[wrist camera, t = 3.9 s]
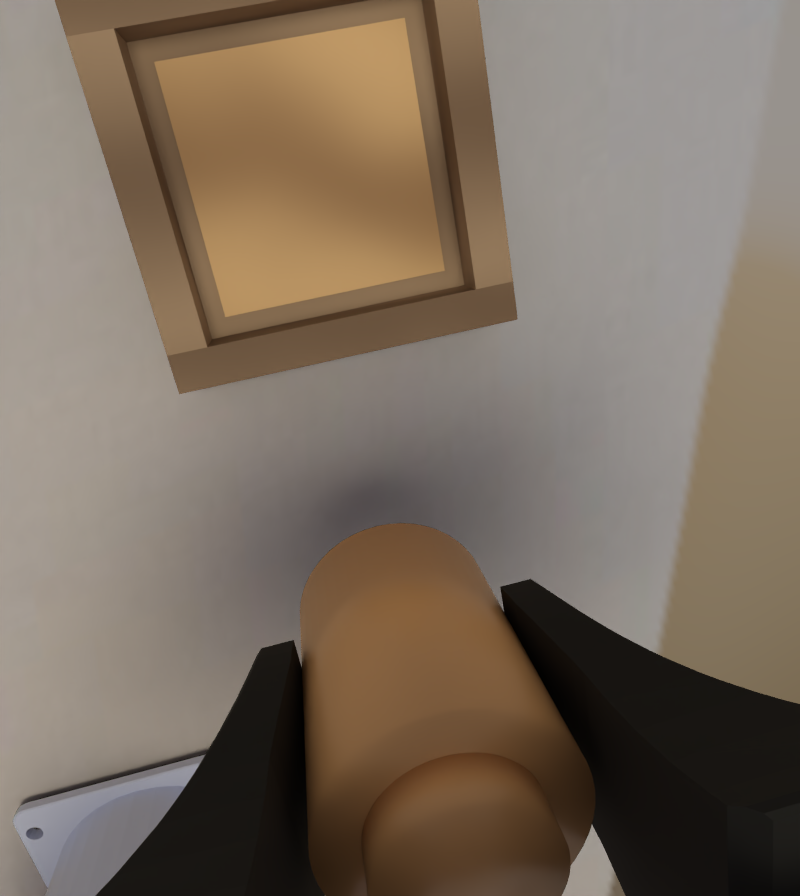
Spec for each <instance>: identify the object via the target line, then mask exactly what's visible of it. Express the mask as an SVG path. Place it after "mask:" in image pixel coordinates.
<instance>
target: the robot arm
mask: <svg viewBox="0 0 800 896" xmlns="http://www.w3.org/2000/svg"><path fill="white" fill-rule="evenodd" d="M500 588H501V594H502V600H503V607H504V613H505V615H506V617H507V619H508V621H509V622H510V624H511V626H512V628H513V630H514V631H515V633H516V635H517V637H518V639H519V640H520V642H521V644H522V646H523V648H524V649H525V651H526V653H527V655H528V657H529V658H530V660H531V662H532V664H533V666H534V668H535V669H536V671H537V673H538V675H539V677H540V678H541V680H542V682H543V684H544V686H545V687H546V689H547V691H548V693H549V695H550V696H551V698H552V700H553V702H554V704H555V705H556V707H557V709H558V711H559V713H560V714H561V716H562V718H563V720H564V722H565V723H566V725H567V727H568V729H569V731H570V732H571V734H572V736H573V738H574V740H575V741H576V743H577V745H578V747H579V749H580V750H581V752H582V754H583V756H584V758H585V759H586V761H587V763H588V766H589V768H590V771H591V773H592V776H593V781H594V787H595V810H594V818H593V821H592V825H593V827H594V829H595V831H596V833H597V835H598V837H599V839H600V840H601V842H602V844H603V846H604V849H605V851H606V853H607V855H608V858H609V860H610V862H611V864H612V867H613V869H614V871H615V873H616V875H617V878H618V880H619V882H620V884H621V886H622V889H623V891H624V893H625V895H626V896H800V704H797V703H793V702H789V701H785V700H781V699H778V698H775V697H771V696H768V695H764V694H760V693H757V692H754V691H751V690H748V689H745V688H742V687H739V686H736V685H733V684H730V683H727V682H724V681H721V680H718V679H716V678H713V677H710V676H708V675H705V674H702V673H699V672H697V671H695V670H693V669H690V668H688V667H685V666H683V665H681V664H678V663H676V662H674V661H671V660H669V659H667V658H664V657H662V656H660V655H658V654H656V653H654V652H652V651H650V650H648V649H646V648H644V647H642V646H640V645H638V644H636V643H634V642H632V641H630V640H628V639H626V638H624V637H622V636H621V635H619V634H617V633H615V632H613V631H612V630H610V629H608V628H606V627H605V626H603V625H601V624H600V623H598V622H596V621H595V620H593V619H591V618H590V617H588V616H587V615H585V614H583V613H582V612H580V611H579V610H577V609H575V608H574V607H572V606H571V605H569V604H568V603H566V602H565V601H563V600H562V599H560V598H559V597H557V596H556V595H554V594H553V593H551V592H550V591H548V590H547V589H545V588H544V587H542V586H540V585H539V584H537V583H536V582H534V581H533V580H531V579H529V580H525V581H521V582H518V583H514V584H510V585H506V586H502V587H500ZM13 824H14V827H15V829H16V830H17V832H18V834H19V836H20V838H21V840H22V842H23V844H24V845H25V847H26V849H27V851H28V853H29V855H30V857H31V859H32V860H33V862H34V864H35V866H36V868H37V870H38V872H39V873H40V875H41V877H42V879H43V881H44V883H45V885H46V887H47V888H48V890H47V892H46V895H45V896H325V894H324V893H323V891H322V890H321V888H320V887H319V885H318V883H317V881H316V879H315V876H314V874H313V872H312V868H311V864H310V859H309V847H308V821H307V794H306V766H305V739H304V711H303V684H302V667H301V664H300V660H299V657H298V654H297V650H296V647H295V643H294V640H292V641H288V642H284V643H280V644H277V645H273V646H269V647H265V648H262V649H261V650H260V651H259V653H258V654H257V656H256V659H255V661H254V663H253V665H252V667H251V670H250V672H249V674H248V676H247V678H246V680H245V682H244V685H243V687H242V689H241V691H240V693H239V695H238V697H237V699H236V701H235V703H234V705H233V707H232V708H231V710H230V712H229V714H228V716H227V718H226V720H225V722H224V723H223V725H222V727H221V729H220V731H219V733H218V734H217V736H216V738H215V740H214V741H213V743H212V745H211V746H210V748H209V750H208V751H207V753H206V754H205V755H202V756H198V757H194V758H191V759H187V760H183V761H180V762H176V763H172V764H169V765H165V766H161V767H157V768H154V769H150V770H146V771H143V772H139V773H135V774H131V775H128V776H124V777H120V778H117V779H113V780H109V781H105V782H102V783H98V784H94V785H91V786H87V787H83V788H79V789H76V790H72V791H68V792H65V793H61V794H57V795H54V796H50V797H46V798H42V799H39V800H35V801H31V802H28V803H25V804H23V805H21V806H20V807H19V808H18V809H17V812H16V814H15V816H14V819H13ZM34 827H37V828H40V829H34Z"/></svg>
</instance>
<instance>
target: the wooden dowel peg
mask: <svg viewBox="0 0 800 896" xmlns="http://www.w3.org/2000/svg"><path fill="white" fill-rule="evenodd" d="M300 628H301V656H302V684H303V711H304V739H305V766H306V794H307V821H308V847H309V859H310V864H311V868H312V872H313V874H314V876H315V879H316V881H317V883H318V885H319V887H320V888H321V890H322V891H323V893H324V894H325V896H561V895H562V894H563V891H564V889H565V887H566V885H567V881H568V878H569V874H570V866H571V864H572V863H573V861H574V860H575V859H576V857H577V855H578V854H579V852H580V850H581V849H582V847H583V845H584V843H585V841H586V839H587V836H588V834H589V832H590V828H591V825H592V821H593V818H594V810H595V787H594V781H593V776H592V773H591V771H590V768H589V766H588V763H587V761H586V759H585V758H584V756H583V754H582V752H581V750H580V749H579V747H578V745H577V743H576V741H575V740H574V738H573V736H572V734H571V732H570V731H569V729H568V727H567V725H566V723H565V722H564V720H563V718H562V716H561V714H560V713H559V711H558V709H557V707H556V705H555V704H554V702H553V700H552V698H551V696H550V695H549V693H548V691H547V689H546V687H545V686H544V684H543V682H542V680H541V678H540V677H539V675H538V673H537V671H536V669H535V668H534V666H533V664H532V662H531V660H530V658H529V657H528V655H527V653H526V651H525V649H524V648H523V646H522V644H521V642H520V640H519V639H518V637H517V635H516V633H515V631H514V630H513V628H512V626H511V624H510V622H509V621H508V619H507V617H506V615H505V613H504V612H503V610H502V608H501V606H500V604H499V603H498V601H497V599H496V597H495V595H494V594H493V592H492V590H491V588H490V586H489V585H488V583H487V581H486V579H485V577H484V576H483V574H482V572H481V570H480V568H479V567H478V565H477V563H476V562H475V560H474V558H473V557H472V555H471V554H470V553H469V552H468V551H467V549H466V548H465V547H463V546H462V545H461V544H460V543H459V542H458V541H456V540H455V539H453V538H452V537H450V536H449V535H447V534H445V533H443V532H441V531H439V530H436V529H433V528H430V527H427V526H422V525H417V524H406V523H397V524H386V525H381V526H376V527H372V528H369V529H366V530H363V531H361V532H359V533H356V534H354V535H352V536H350V537H348V538H347V539H345V540H343V541H342V542H340V543H339V544H338V545H336V546H335V547H334V548H332V549H331V550H330V551H329V552H328V553H327V554H326V555H325V556H324V557H323V558H322V559H321V560H320V562H319V563H318V564H317V565H316V567H315V568H314V570H313V571H312V573H311V575H310V576H309V578H308V580H307V583H306V585H305V588H304V591H303V594H302V598H301V605H300Z"/></svg>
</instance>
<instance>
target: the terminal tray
mask: <svg viewBox="0 0 800 896" xmlns="http://www.w3.org/2000/svg"><path fill="white" fill-rule="evenodd" d="M55 3H56V6H57V9H58V12H59V15H60V18H61V22H62V25H63V28H64V31H65V34H66V37H67V40H68V44H69V47H70V50H71V53H72V56H73V59H74V63H75V66H76V69H77V72H78V75H79V78H80V82H81V85H82V88H83V91H84V94H85V97H86V101H87V104H88V107H89V110H90V113H91V116H92V120H93V123H94V126H95V129H96V132H97V135H98V138H99V142H100V145H101V148H102V151H103V154H104V157H105V161H106V164H107V167H108V170H109V173H110V176H111V180H112V183H113V186H114V189H115V192H116V195H117V199H118V202H119V205H120V208H121V211H122V214H123V218H124V221H125V224H126V227H127V230H128V233H129V236H130V240H131V243H132V246H133V249H134V252H135V255H136V259H137V262H138V265H139V268H140V271H141V274H142V278H143V281H144V284H145V287H146V290H147V293H148V297H149V300H150V303H151V306H152V309H153V312H154V316H155V319H156V322H157V325H158V328H159V331H160V334H161V338H162V341H163V344H164V347H165V350H166V353H167V357H168V360H169V363H170V366H171V369H172V372H173V376H174V379H175V382H176V385H177V388H178V391H179V394H182V393H186V392H191V391H195V390H200V389H204V388H209V387H213V386H218V385H222V384H227V383H231V382H236V381H240V380H245V379H249V378H254V377H258V376H263V375H268V374H272V373H277V372H281V371H286V370H290V369H295V368H299V367H304V366H308V365H313V364H317V363H322V362H326V361H331V360H335V359H340V358H344V357H349V356H354V355H358V354H363V353H367V352H372V351H376V350H381V349H385V348H390V347H394V346H399V345H403V344H408V343H412V342H417V341H421V340H426V339H430V338H435V337H440V336H444V335H449V334H453V333H458V332H462V331H467V330H471V329H476V328H480V327H485V326H489V325H494V324H498V323H503V322H507V321H512V320H516V319H517V311H516V303H515V295H514V286H513V278H512V270H511V262H510V254H509V246H508V238H507V230H506V222H505V214H504V206H503V198H502V190H501V182H500V174H499V166H498V158H497V150H496V142H495V134H494V126H493V118H492V110H491V102H490V94H489V86H488V78H487V70H486V62H485V54H484V46H483V38H482V30H481V22H480V14H479V5H478V0H55Z"/></svg>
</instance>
